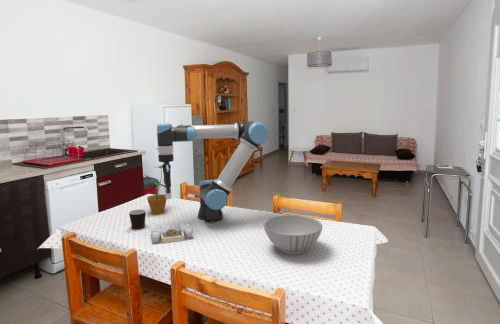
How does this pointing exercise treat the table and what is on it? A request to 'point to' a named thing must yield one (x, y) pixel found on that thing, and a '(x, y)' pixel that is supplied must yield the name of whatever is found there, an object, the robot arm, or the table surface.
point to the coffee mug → (137, 219)
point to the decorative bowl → (292, 232)
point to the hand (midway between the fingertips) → (168, 197)
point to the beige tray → (181, 235)
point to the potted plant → (156, 198)
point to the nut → (171, 232)
